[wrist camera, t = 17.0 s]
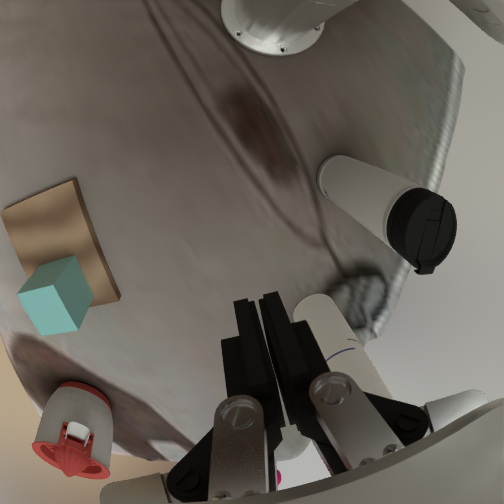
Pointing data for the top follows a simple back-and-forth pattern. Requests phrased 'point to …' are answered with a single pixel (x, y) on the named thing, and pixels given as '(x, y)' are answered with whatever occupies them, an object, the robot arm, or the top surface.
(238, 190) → the top surface
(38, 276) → the mint green cube
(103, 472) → the citrus juicer
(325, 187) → the travel mug
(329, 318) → the cylindrical container
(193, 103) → the top surface
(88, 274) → the board
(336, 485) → the robot arm
